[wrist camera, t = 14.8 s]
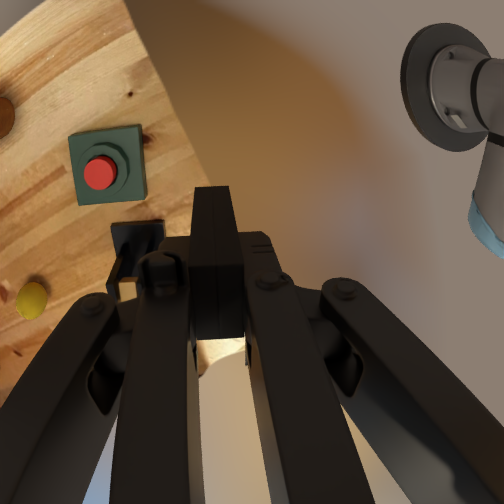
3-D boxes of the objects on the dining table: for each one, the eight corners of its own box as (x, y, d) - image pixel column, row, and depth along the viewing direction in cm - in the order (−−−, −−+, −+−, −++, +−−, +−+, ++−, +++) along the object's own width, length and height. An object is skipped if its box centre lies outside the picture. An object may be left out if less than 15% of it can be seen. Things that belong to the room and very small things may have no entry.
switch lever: (161, 364, 43) (159, 373, 41) (128, 364, 42) (125, 373, 40) (149, 276, 40) (146, 281, 38) (113, 277, 40) (108, 283, 37)
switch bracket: (171, 277, 51) (165, 327, 40) (123, 279, 50) (108, 328, 40) (164, 219, 46) (152, 262, 35) (112, 223, 45) (88, 265, 35)
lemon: (35, 268, 46) (17, 296, 39) (58, 289, 49) (42, 318, 42) (22, 284, 47) (5, 312, 41) (44, 303, 50) (29, 333, 43)
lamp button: (114, 154, 36) (111, 157, 35) (118, 184, 38) (115, 188, 37) (86, 157, 36) (81, 161, 34) (90, 187, 38) (86, 191, 36)
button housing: (141, 124, 38) (135, 128, 35) (147, 194, 43) (142, 204, 40) (73, 133, 37) (62, 139, 34) (83, 200, 42) (74, 211, 39)
